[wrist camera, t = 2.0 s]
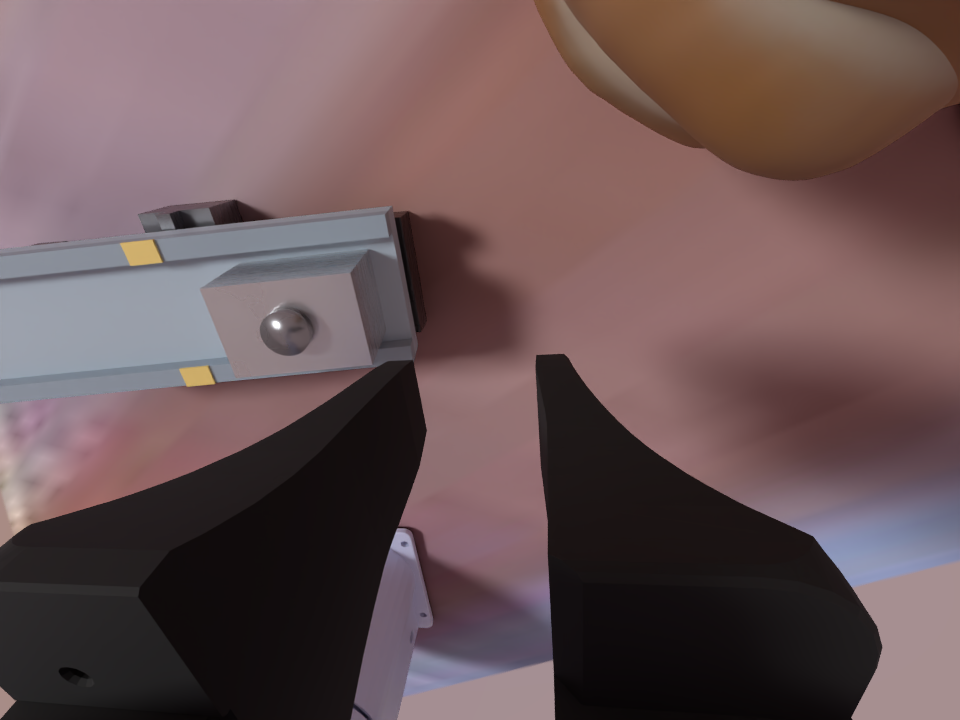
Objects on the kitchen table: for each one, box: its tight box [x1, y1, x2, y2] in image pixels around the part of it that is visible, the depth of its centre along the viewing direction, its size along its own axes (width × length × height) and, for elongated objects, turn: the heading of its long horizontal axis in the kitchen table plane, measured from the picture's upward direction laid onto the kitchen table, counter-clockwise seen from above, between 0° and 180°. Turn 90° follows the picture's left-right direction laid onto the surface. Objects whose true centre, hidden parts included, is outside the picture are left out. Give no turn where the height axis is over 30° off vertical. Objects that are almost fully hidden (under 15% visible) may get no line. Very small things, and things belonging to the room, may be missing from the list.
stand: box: [31, 200, 427, 332], centre depth 21 cm, size 7×18×2 cm, turn 96°
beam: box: [0, 206, 418, 404], centre depth 19 cm, size 6×18×2 cm, turn 96°
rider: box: [200, 249, 386, 378], centre depth 17 cm, size 3×5×4 cm
